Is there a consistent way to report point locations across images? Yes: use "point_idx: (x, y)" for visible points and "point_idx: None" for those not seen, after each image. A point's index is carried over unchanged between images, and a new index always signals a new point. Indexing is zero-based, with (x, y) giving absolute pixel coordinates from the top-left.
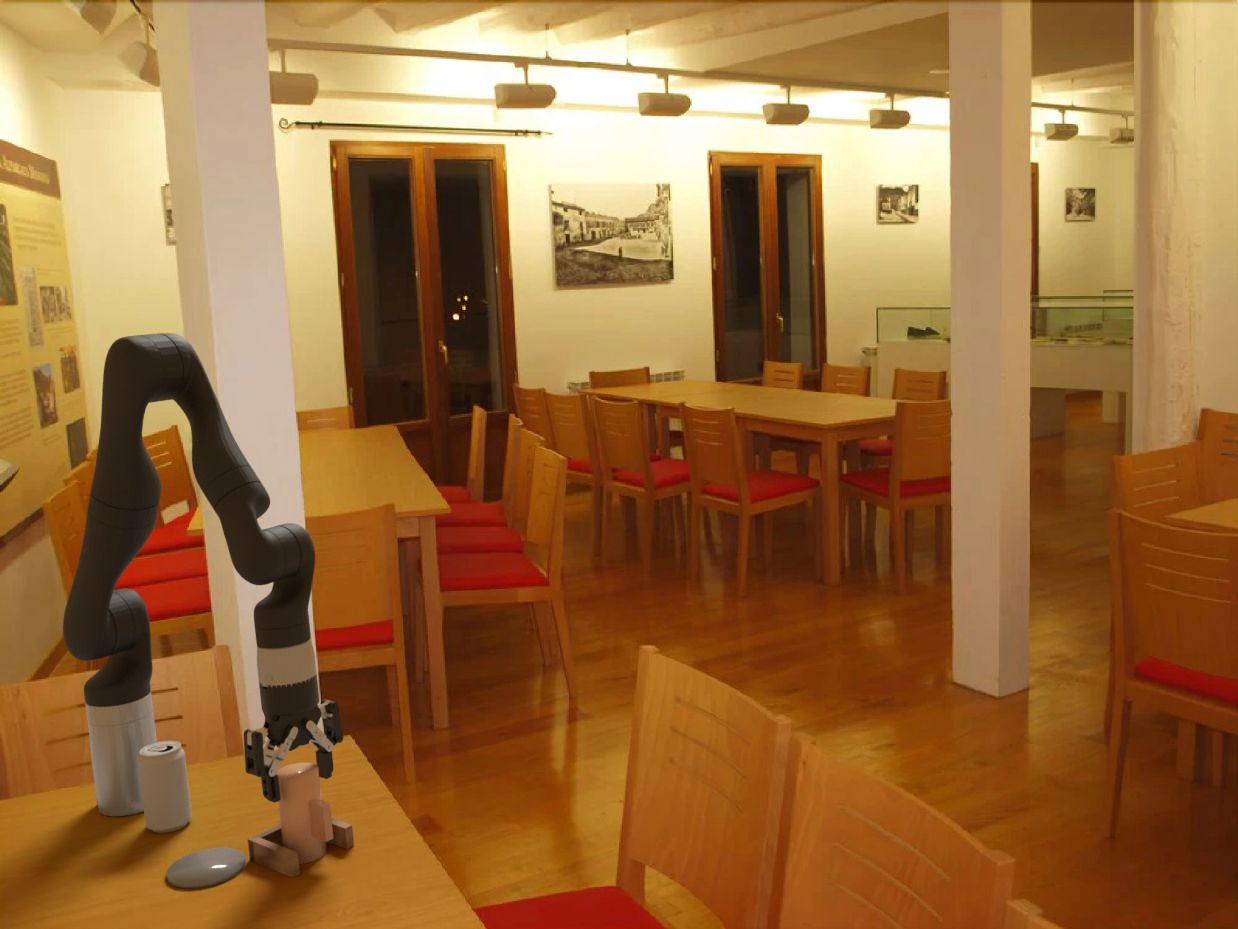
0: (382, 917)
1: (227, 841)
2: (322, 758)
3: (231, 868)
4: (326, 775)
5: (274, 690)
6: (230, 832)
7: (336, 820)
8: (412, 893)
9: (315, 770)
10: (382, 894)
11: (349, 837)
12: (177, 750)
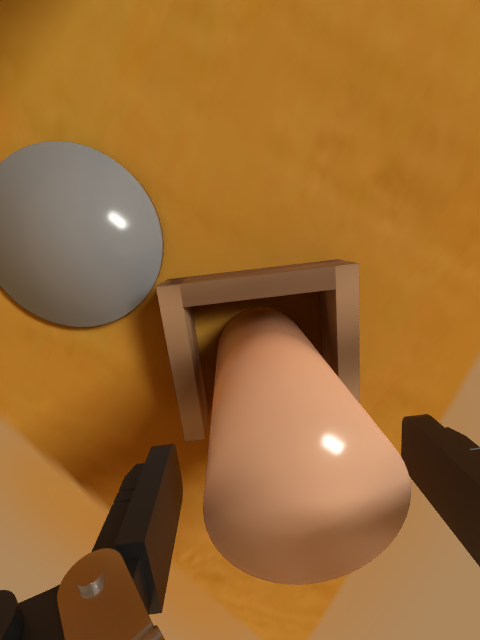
0: (221, 599)
1: (174, 134)
2: (464, 519)
3: (109, 303)
4: (410, 470)
5: None
6: (204, 85)
7: (356, 372)
8: None
9: (360, 561)
10: None
11: None
12: None
